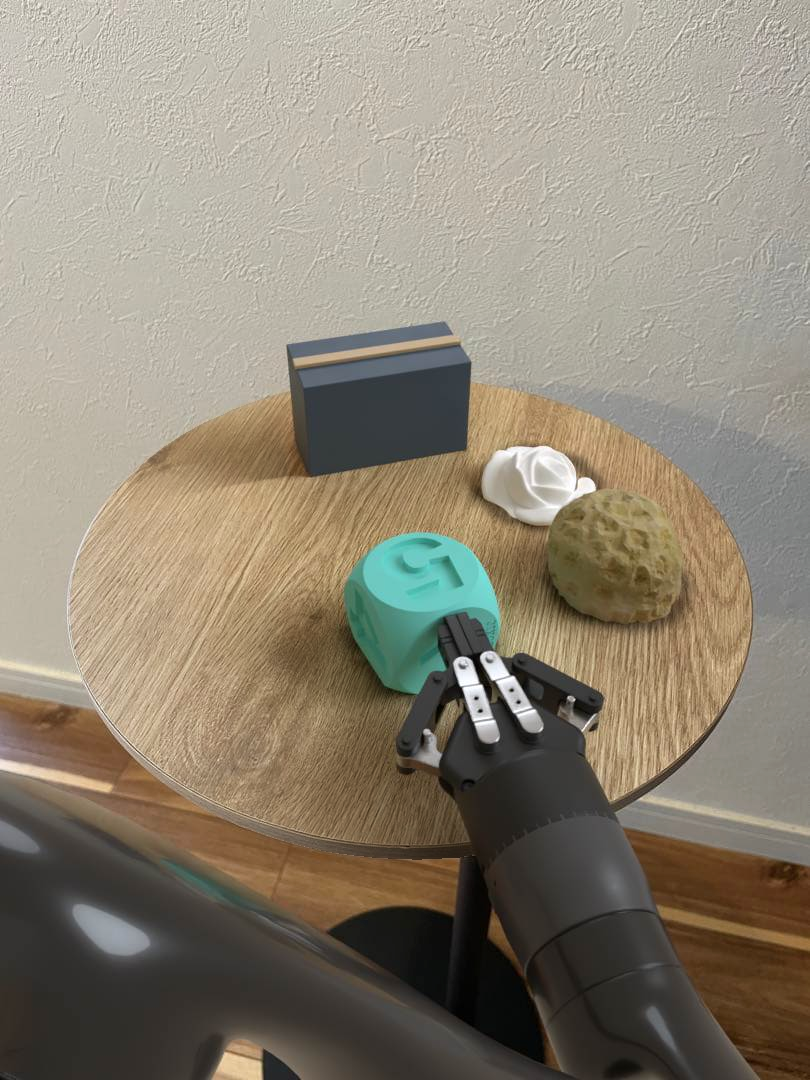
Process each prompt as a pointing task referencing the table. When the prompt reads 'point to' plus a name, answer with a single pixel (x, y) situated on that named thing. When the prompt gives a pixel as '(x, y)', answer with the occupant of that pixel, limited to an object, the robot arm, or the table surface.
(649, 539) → the rock
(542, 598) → the table surface
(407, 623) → the decorative dice
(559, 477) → the rose
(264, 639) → the table surface
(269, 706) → the table surface
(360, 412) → the box
